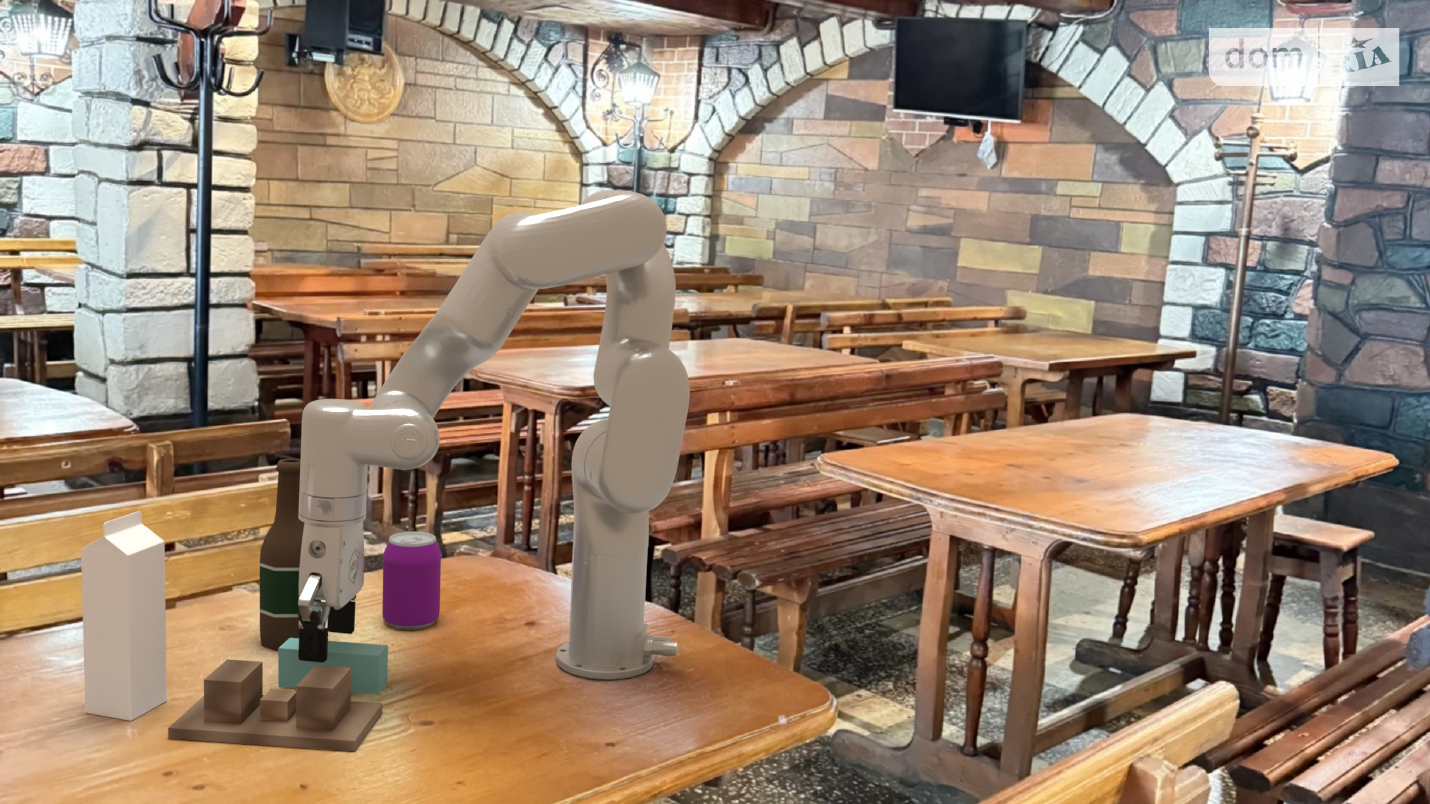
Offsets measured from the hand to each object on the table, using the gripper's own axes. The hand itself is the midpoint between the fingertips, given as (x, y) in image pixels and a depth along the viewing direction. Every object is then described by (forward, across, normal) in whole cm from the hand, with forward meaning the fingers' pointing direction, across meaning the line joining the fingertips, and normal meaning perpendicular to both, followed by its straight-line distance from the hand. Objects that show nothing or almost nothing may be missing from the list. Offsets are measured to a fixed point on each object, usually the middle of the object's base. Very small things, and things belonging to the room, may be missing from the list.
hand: (327, 646), depth 149 cm
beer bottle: (+5, +13, +9) cm, 17 cm away
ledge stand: (+5, -12, +1) cm, 13 cm away
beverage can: (+5, +23, -4) cm, 24 cm away
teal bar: (+5, 0, -1) cm, 5 cm away
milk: (+6, -10, +19) cm, 22 cm away
